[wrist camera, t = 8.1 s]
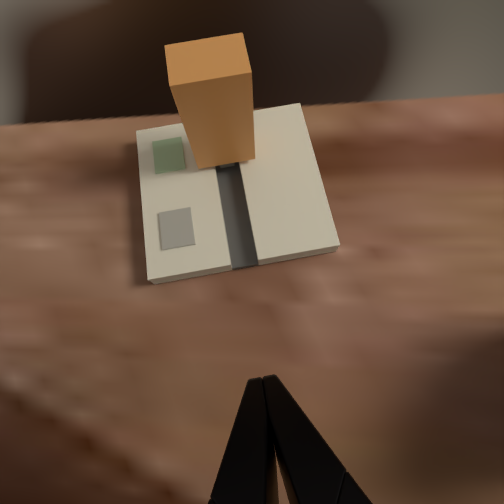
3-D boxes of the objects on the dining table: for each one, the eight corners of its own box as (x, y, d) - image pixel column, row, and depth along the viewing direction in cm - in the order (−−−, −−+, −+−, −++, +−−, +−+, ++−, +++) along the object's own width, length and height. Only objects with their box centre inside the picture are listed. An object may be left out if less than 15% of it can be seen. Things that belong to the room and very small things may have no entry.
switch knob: (255, 167, 26) (251, 72, 17) (201, 177, 26) (169, 86, 17) (249, 137, 27) (242, 32, 18) (196, 146, 27) (164, 45, 18)
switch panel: (335, 251, 24) (340, 244, 23) (154, 284, 24) (146, 279, 22) (297, 115, 28) (300, 101, 27) (142, 142, 28) (135, 129, 27)
